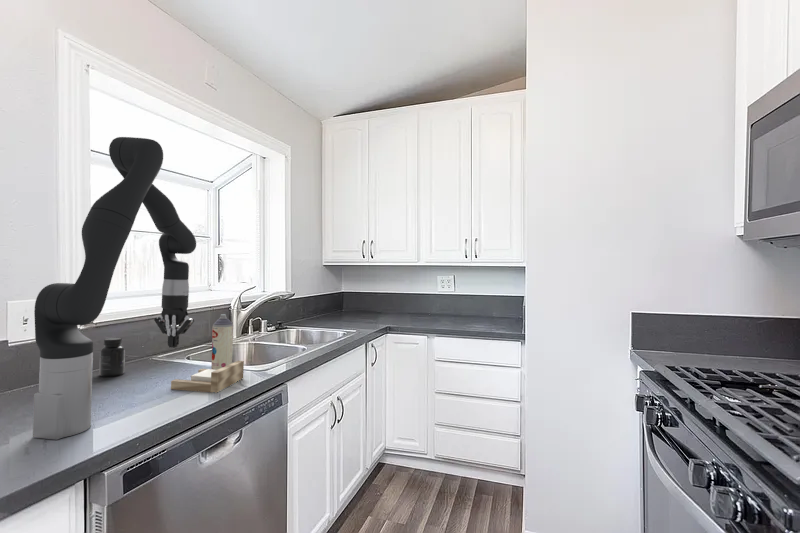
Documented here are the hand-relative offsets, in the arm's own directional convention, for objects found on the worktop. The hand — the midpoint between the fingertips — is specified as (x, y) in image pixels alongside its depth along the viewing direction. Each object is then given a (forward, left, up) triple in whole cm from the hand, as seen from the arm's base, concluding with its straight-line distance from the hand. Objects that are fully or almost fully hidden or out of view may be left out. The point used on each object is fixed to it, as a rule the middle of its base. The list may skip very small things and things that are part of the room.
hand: (173, 347), depth 129 cm
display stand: (0, -13, -11) cm, 17 cm away
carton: (-1, -13, -11) cm, 18 cm away
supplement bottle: (+2, +24, -11) cm, 27 cm away
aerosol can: (+16, -7, -11) cm, 21 cm away
